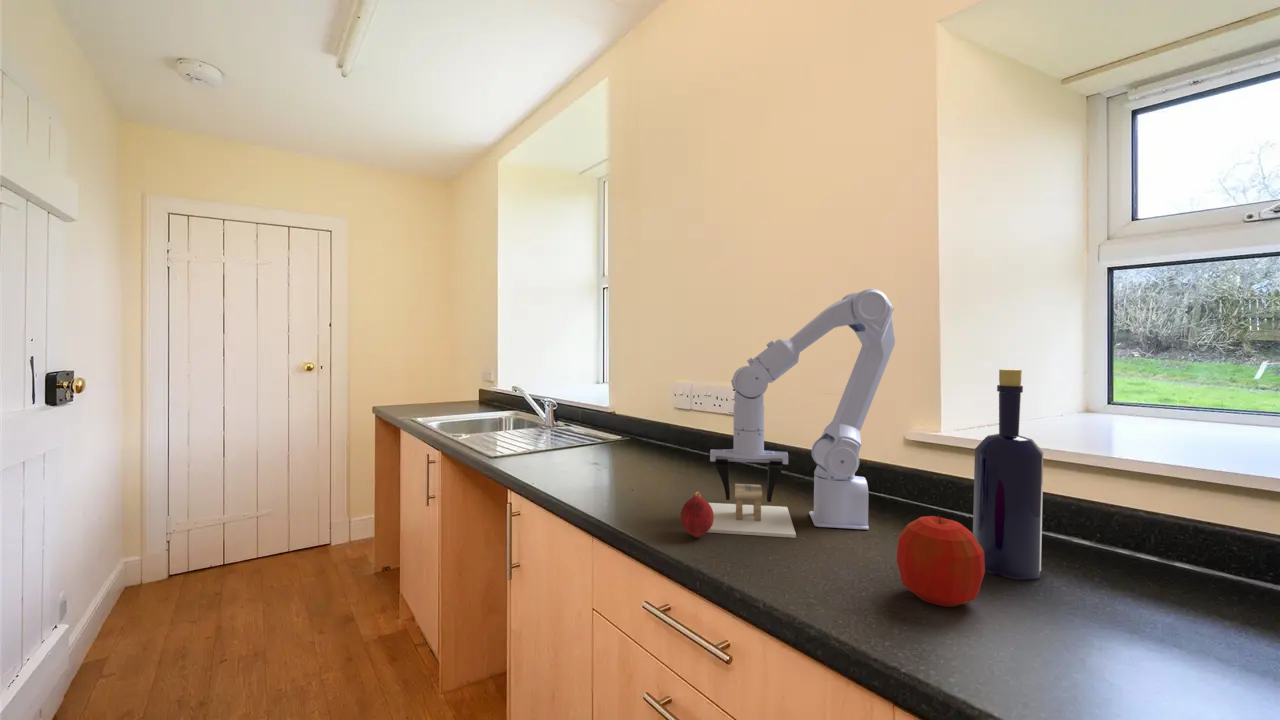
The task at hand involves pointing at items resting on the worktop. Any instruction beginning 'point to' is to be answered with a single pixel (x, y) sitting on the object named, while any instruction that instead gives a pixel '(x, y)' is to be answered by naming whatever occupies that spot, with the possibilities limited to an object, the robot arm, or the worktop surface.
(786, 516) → the mat
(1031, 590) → the worktop surface
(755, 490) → the stool
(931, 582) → the apple
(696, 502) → the onion
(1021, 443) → the bottle
